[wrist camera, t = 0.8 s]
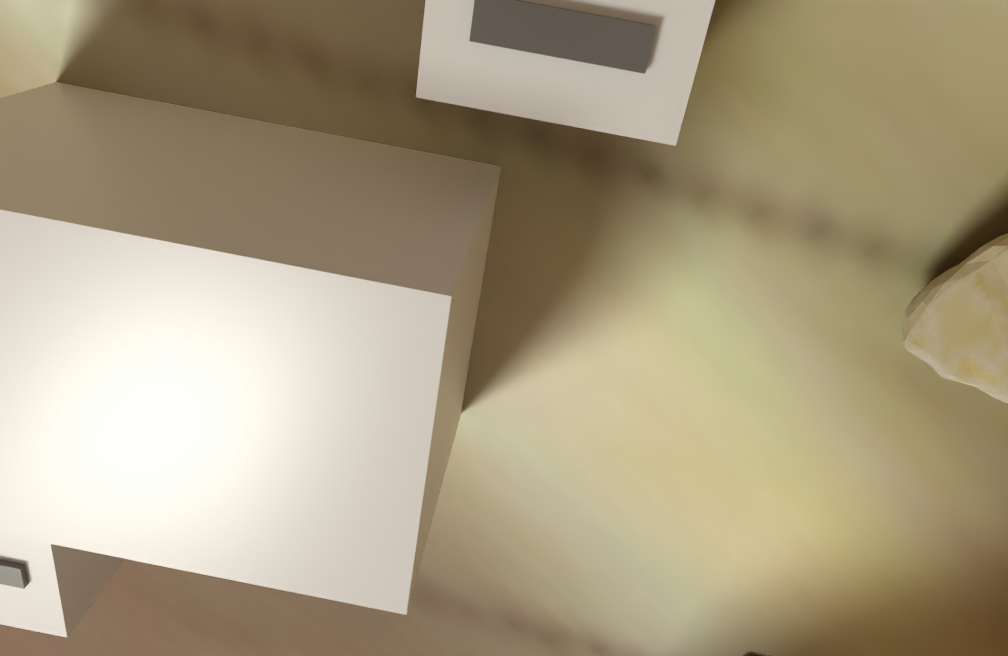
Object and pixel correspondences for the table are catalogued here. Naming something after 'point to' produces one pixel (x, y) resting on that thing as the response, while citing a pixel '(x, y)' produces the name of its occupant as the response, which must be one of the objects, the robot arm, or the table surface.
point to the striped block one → (49, 584)
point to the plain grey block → (231, 340)
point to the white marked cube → (567, 60)
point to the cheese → (965, 321)
